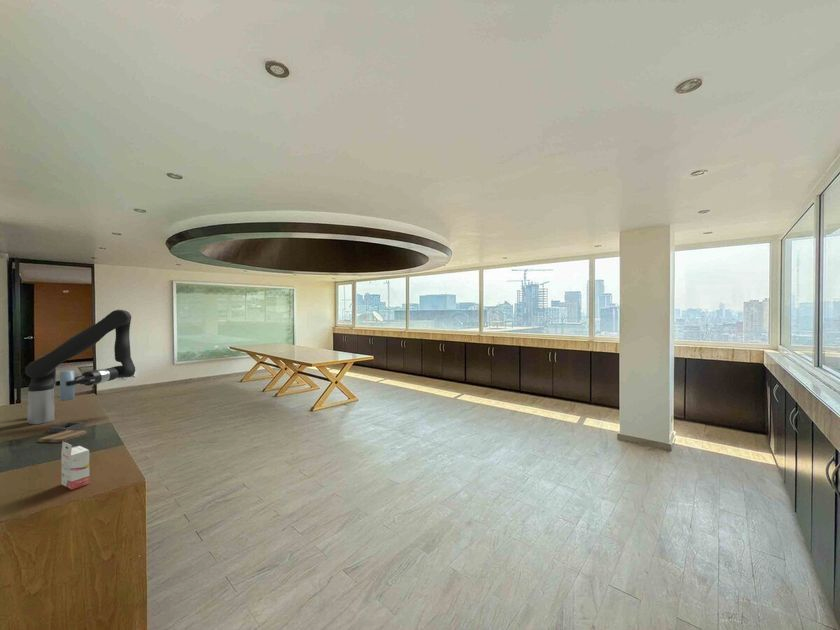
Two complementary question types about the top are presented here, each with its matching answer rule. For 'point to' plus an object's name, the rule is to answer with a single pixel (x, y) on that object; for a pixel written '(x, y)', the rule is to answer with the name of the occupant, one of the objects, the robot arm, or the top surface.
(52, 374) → the robot arm
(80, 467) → the ink cartridge box
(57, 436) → the walnut board
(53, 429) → the square grey frame
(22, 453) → the top surface
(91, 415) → the top surface
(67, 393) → the canister
